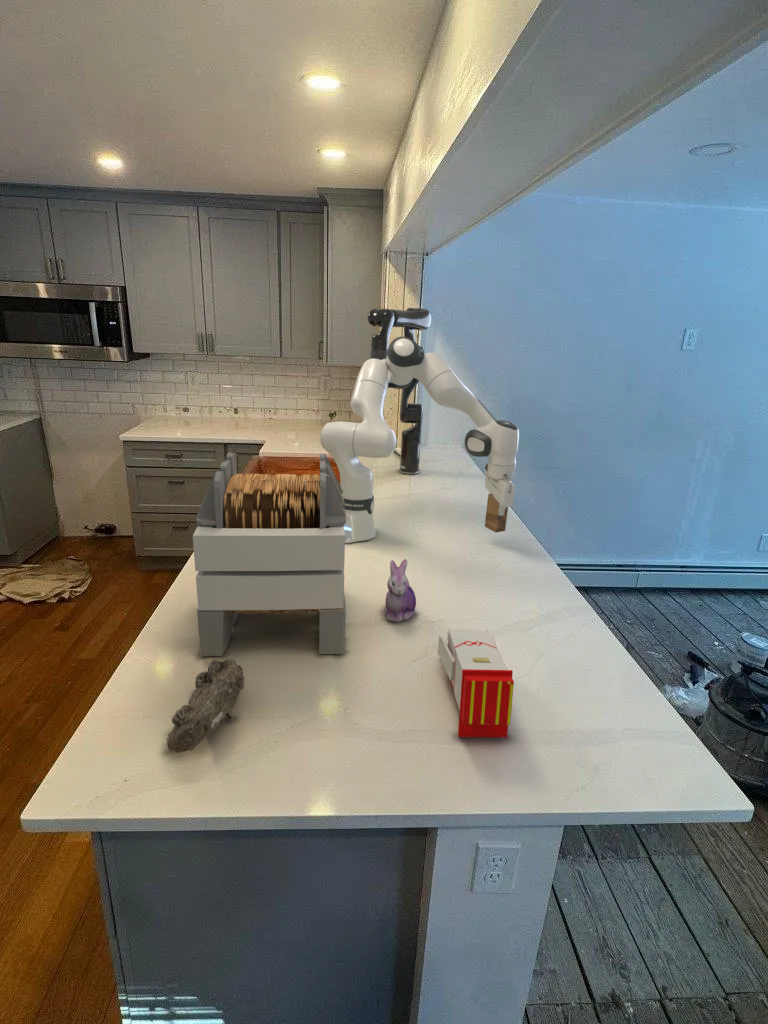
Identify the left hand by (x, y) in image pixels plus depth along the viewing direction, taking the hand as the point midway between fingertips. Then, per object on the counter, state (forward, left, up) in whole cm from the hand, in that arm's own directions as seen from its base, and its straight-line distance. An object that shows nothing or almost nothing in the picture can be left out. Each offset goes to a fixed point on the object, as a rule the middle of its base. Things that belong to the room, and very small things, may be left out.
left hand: (496, 510), depth 191 cm
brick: (0, 0, -7) cm, 7 cm away
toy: (+3, -83, -12) cm, 84 cm away
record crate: (-47, -70, -12) cm, 85 cm away
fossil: (-43, -107, -12) cm, 116 cm away
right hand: (-56, +44, +26) cm, 76 cm away
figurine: (-18, -57, -12) cm, 61 cm away
